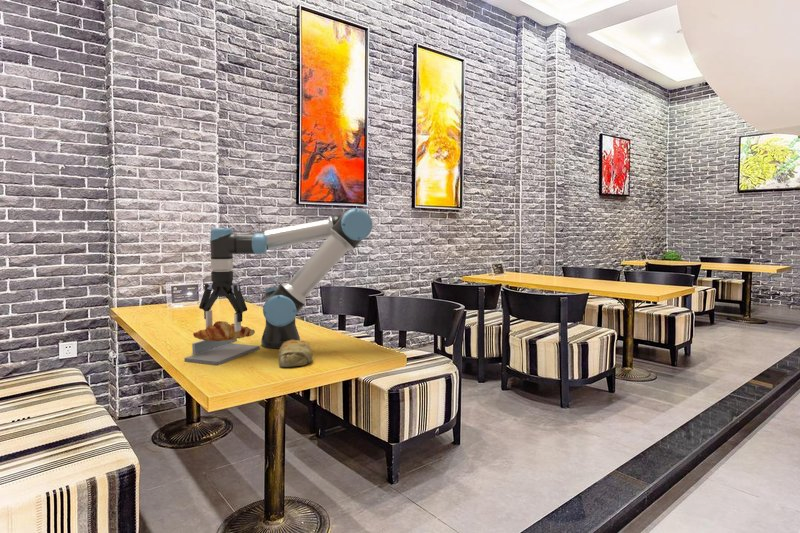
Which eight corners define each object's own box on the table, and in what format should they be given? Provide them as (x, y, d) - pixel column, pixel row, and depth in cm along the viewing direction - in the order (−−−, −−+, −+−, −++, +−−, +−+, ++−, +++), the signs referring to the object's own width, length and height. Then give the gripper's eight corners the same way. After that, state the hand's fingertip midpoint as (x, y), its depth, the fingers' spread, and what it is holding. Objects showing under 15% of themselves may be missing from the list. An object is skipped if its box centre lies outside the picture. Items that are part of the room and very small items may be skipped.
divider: (236, 340, 204) (236, 330, 204) (195, 354, 181) (194, 343, 181) (234, 340, 204) (234, 330, 204) (192, 354, 182) (192, 343, 182)
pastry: (297, 356, 181) (297, 334, 180) (321, 361, 173) (321, 339, 172) (266, 364, 169) (266, 341, 169) (290, 371, 162) (290, 347, 161)
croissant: (253, 343, 188) (252, 323, 191) (257, 336, 179) (255, 315, 182) (193, 348, 179) (192, 326, 182) (193, 340, 171) (193, 318, 173)
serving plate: (259, 349, 190) (259, 345, 190) (217, 365, 167) (217, 361, 167) (229, 346, 194) (229, 343, 194) (184, 361, 172) (184, 358, 172)
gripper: (256, 270, 178) (257, 330, 180) (202, 268, 186) (203, 325, 188) (243, 272, 171) (244, 334, 173) (187, 270, 179) (189, 329, 181)
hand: (223, 329), depth 180 cm, fingers closed on croissant, 12 cm apart
